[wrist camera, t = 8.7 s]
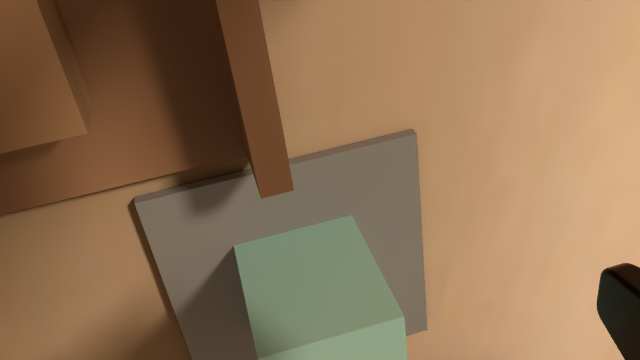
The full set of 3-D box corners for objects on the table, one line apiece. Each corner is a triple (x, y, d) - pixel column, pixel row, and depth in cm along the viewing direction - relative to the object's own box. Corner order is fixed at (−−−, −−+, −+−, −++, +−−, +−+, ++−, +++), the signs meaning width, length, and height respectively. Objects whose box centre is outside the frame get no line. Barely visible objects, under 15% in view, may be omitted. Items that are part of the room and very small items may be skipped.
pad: (412, 128, 22) (416, 133, 22) (423, 323, 27) (427, 329, 27) (134, 197, 21) (134, 203, 20) (204, 387, 26) (205, 395, 26)
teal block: (351, 215, 23) (404, 316, 18) (363, 302, 25) (411, 410, 21) (233, 245, 22) (257, 358, 18) (256, 331, 25) (282, 450, 20)
